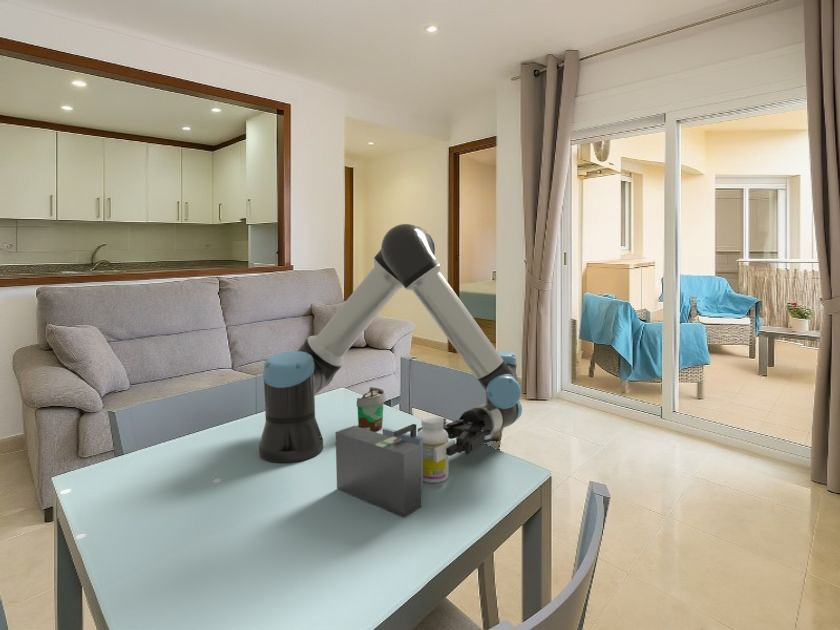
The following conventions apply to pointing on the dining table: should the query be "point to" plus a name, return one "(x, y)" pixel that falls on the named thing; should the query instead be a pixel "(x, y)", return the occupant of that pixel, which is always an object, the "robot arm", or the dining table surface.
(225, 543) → the dining table surface
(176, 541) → the dining table surface
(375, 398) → the food container
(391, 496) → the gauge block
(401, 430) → the pale blue square panel
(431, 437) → the supplement bottle
